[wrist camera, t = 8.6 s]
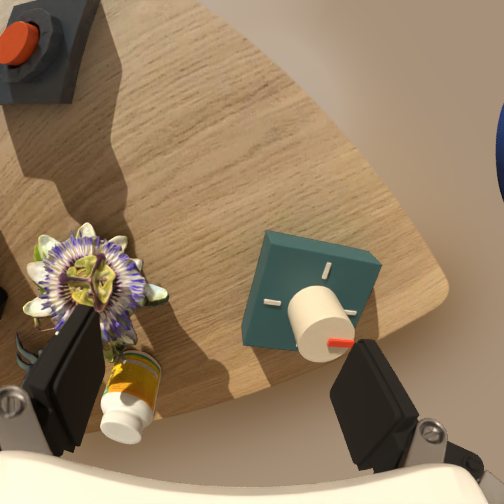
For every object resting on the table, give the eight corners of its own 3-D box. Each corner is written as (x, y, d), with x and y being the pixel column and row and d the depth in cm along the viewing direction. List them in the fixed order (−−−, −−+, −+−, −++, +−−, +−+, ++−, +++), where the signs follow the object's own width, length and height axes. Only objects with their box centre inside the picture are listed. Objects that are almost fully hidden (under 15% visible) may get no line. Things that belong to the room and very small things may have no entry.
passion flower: (136, 223, 30) (194, 277, 22) (108, 312, 31) (153, 386, 24) (35, 197, 21) (40, 250, 14) (15, 301, 23) (27, 389, 15)
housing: (25, 10, 15) (3, 1, 11) (100, -1, 16) (82, -17, 12) (1, 105, 18) (-25, 106, 15) (71, 103, 20) (47, 102, 16)
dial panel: (266, 229, 25) (271, 243, 23) (368, 251, 27) (383, 265, 24) (241, 325, 29) (242, 346, 26) (333, 336, 31) (342, 355, 28)
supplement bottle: (161, 385, 32) (150, 452, 23) (118, 376, 31) (98, 440, 22) (162, 353, 30) (147, 425, 21) (115, 343, 29) (88, 411, 20)
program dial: (281, 325, 26) (291, 363, 21) (296, 281, 24) (310, 316, 20) (327, 330, 26) (343, 366, 22) (344, 289, 25) (365, 322, 20)
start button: (14, 28, 13) (2, 25, 11) (44, 22, 13) (33, 17, 12) (3, 67, 14) (-10, 66, 13) (32, 64, 15) (20, 61, 13)
